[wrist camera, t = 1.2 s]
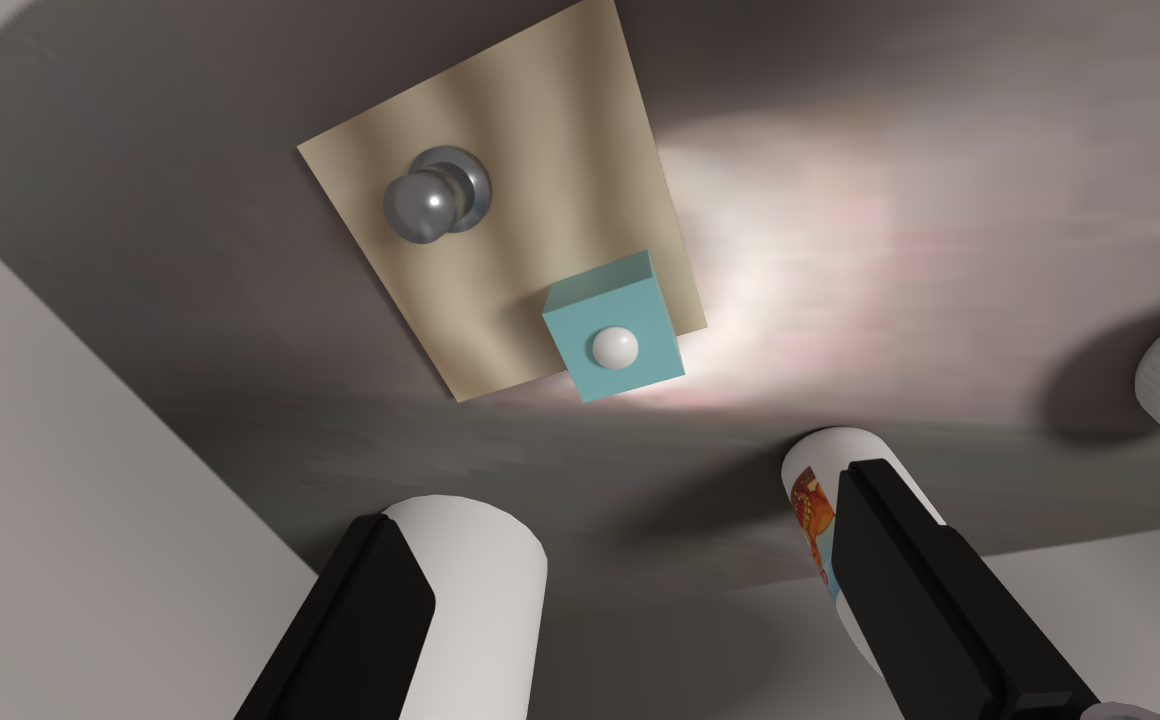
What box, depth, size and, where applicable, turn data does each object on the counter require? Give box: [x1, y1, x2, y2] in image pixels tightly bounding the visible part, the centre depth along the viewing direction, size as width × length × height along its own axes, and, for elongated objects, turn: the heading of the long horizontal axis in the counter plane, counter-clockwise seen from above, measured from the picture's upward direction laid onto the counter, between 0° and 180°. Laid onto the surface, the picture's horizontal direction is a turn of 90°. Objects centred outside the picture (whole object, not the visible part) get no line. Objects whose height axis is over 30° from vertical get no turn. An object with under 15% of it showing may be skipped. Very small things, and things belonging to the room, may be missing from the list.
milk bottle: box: [781, 426, 946, 679], centre depth 27 cm, size 8×8×20 cm
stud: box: [383, 145, 492, 244], centre depth 23 cm, size 4×4×6 cm
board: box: [297, 0, 708, 403], centre depth 27 cm, size 18×18×1 cm
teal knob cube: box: [542, 249, 685, 403], centre depth 26 cm, size 6×6×5 cm
